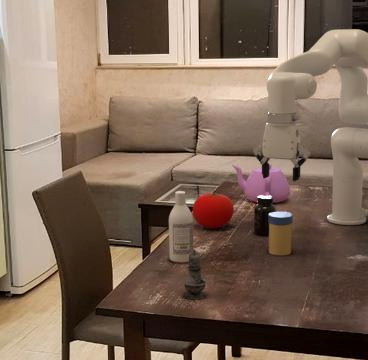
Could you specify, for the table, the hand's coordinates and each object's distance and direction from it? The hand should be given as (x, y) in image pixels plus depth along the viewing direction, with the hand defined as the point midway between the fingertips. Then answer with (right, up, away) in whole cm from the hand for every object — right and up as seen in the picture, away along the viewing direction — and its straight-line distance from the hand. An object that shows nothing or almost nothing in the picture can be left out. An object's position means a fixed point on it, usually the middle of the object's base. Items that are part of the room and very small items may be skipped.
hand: (280, 178), depth 214 cm
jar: (+1, -22, +5) cm, 22 cm away
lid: (0, -11, +2) cm, 11 cm away
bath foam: (-29, -24, +1) cm, 37 cm away
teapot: (+7, -8, +69) cm, 70 cm away
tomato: (-16, -16, +34) cm, 41 cm away
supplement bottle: (0, -18, +24) cm, 30 cm away
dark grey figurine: (-27, -29, -28) cm, 49 cm away
